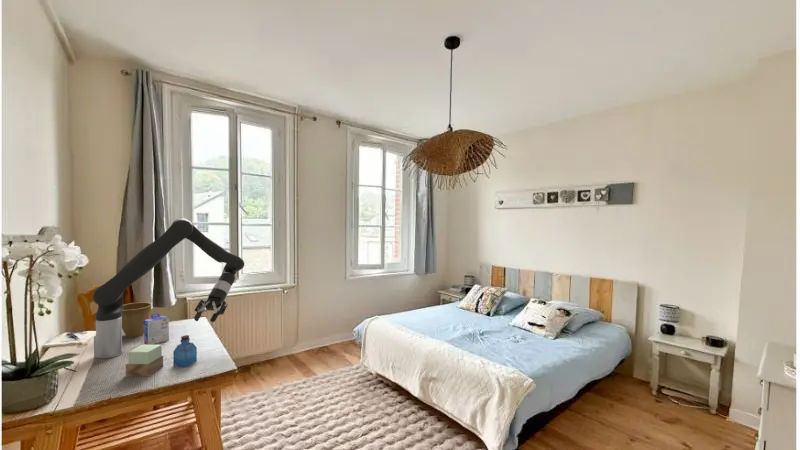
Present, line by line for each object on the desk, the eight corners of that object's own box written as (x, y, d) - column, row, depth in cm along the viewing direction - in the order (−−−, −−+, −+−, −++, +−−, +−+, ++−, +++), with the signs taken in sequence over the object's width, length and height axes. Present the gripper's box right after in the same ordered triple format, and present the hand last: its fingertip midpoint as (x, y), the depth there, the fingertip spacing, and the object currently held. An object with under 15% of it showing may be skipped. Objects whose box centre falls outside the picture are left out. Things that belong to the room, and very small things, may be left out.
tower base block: (125, 376, 140) (125, 364, 140) (142, 366, 149) (142, 355, 149) (148, 376, 140) (148, 364, 140) (163, 367, 149) (163, 355, 149)
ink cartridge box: (164, 337, 183) (164, 310, 183) (169, 340, 180) (169, 312, 180) (143, 343, 175) (142, 315, 174) (148, 346, 172) (147, 317, 172)
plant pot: (115, 334, 187) (115, 305, 186) (149, 328, 197) (149, 301, 197) (118, 342, 176) (117, 311, 176) (153, 335, 186) (153, 306, 186)
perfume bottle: (185, 367, 149) (185, 339, 149) (173, 365, 150) (173, 338, 150) (196, 361, 155) (196, 334, 155) (184, 359, 156) (184, 333, 156)
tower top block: (128, 364, 141) (128, 351, 141) (143, 356, 149) (142, 344, 149) (148, 364, 141) (147, 352, 141) (161, 356, 149) (161, 344, 149)
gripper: (203, 286, 173) (186, 316, 162) (229, 288, 170) (213, 318, 160) (211, 295, 178) (194, 323, 167) (236, 296, 176) (221, 325, 165)
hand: (203, 321), depth 163 cm, fingers open, 8 cm apart
